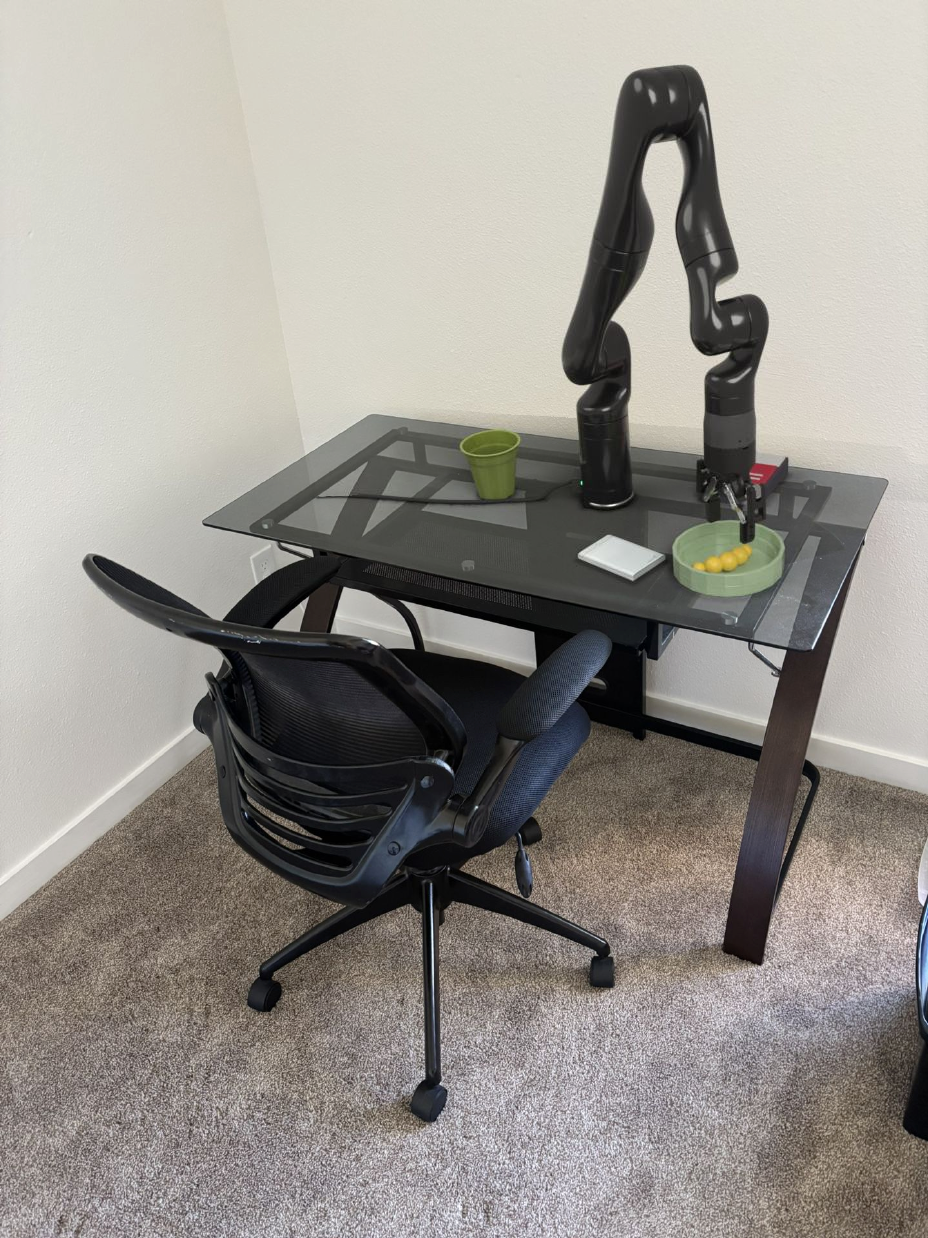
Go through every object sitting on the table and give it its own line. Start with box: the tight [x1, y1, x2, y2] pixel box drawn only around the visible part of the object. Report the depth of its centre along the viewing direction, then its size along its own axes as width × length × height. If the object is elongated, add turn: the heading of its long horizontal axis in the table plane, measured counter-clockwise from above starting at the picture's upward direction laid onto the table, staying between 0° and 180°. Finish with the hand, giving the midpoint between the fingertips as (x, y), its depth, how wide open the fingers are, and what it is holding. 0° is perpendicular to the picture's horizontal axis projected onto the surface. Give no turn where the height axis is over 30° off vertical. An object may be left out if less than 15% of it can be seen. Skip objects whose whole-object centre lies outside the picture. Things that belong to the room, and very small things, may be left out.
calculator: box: [700, 452, 790, 505], centre depth 174 cm, size 11×4×15 cm
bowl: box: [671, 519, 786, 598], centre depth 152 cm, size 17×17×4 cm
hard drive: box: [577, 534, 666, 582], centre depth 160 cm, size 2×8×12 cm
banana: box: [692, 544, 752, 573], centre depth 152 cm, size 12×4×3 cm, turn 113°
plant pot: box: [459, 429, 522, 500], centre depth 185 cm, size 12×12×11 cm
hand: (729, 531), depth 148 cm, fingers open, 8 cm apart
